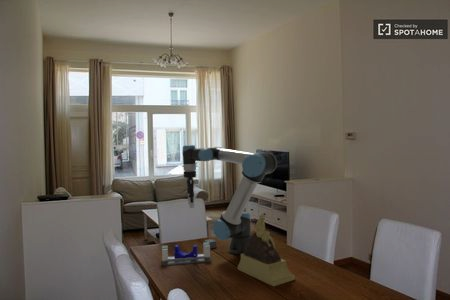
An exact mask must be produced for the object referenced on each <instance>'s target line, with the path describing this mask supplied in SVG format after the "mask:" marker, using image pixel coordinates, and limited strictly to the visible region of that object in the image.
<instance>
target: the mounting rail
mask: <svg viewBox="0 0 450 300" xmlns="http://www.w3.org/2000/svg"><path fill="white" fill-rule="evenodd" d="M210 262H212V260H211V256H210V257H205V256H204V253H198V256H197V257H186V258H174V256H173V255H172V256H168V260H165V261H162V267H163V266H177V265H178V266H179V265H188V264H199V263H200V264H201V263H210Z"/></svg>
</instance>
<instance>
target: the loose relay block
mask: <svg viewBox="0 0 450 300" xmlns="http://www.w3.org/2000/svg"><path fill="white" fill-rule="evenodd" d="M206 242H209V244H210V250H211V249H215V248H217V240H215V239H213V238H211V239H205V240H204V242H203V243H206Z"/></svg>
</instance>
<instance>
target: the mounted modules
mask: <svg viewBox="0 0 450 300" xmlns="http://www.w3.org/2000/svg"><path fill="white" fill-rule="evenodd" d="M202 246H203V247H202V248H203V250H202V251H203V254H204V256H205V257H210V258H211V249H210V244H209V242H206V243H204V242H202ZM161 253H162V254H161V255H162V256H161V258H162V262H163V261H165V260H168V257H169V249H168V245H162V246H161Z"/></svg>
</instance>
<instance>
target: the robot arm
mask: <svg viewBox="0 0 450 300" xmlns="http://www.w3.org/2000/svg"><path fill="white" fill-rule="evenodd" d="M209 161H221V162H225V163H226V162H227V163H231V164H232V163H233V164H238V165H241V167H242V168H241V175H242V178H241V180H240V181H239V184H238V186H237V188H236V190H235V192H234V194H233V196H232V198H231V200H230V203H229V204H228V206H227V209H226V210H224V211H223V212H222V213H221V214H220V217H219V219H216V220H215V221H213V224H212V232H213V234H214V236H215V237H216V238H217V239H218V240H220V241H227V240H229V239H230V241H229V245H228V252H229V253H230V254H234V255H241V254H243V253H244V251H245V246H246V244H247V242H248V241H249V239H250V237H251V236H252V234H251V233H252V229H251V228H252V227H251V226H252V225H251V214H250V213H249V212H247V211H245V209H246V207H247V205H248V203H249V201H250V199H251V198H252V195H253V193H254V191H255V189H256V188H257V185H258V184H260V183H262V182H263V179H265V176H266V175H268V174H272V173H273V172H274V171H275V170H276V169H277V167H278V160H277V157H276V156H275V155H274V154H273V153H271V152H262V151H261V152H250V151H249V152H248V151H243V150H235V149H230V148H229V149H228V148H223V147H220V146H215V147H204V148H202V147H200V148H197V147H196V146H195V145H194V144H189V145H187V144H186V145H183V146H182V162H183V163H182V164H183V165H182V169H183V178H185V179H186V186H187V203H188V205H189V206H188V207H189V209H195V192H194V186H195V185H194V180H193V178H196V177H197V171H196V170H197V162H209Z"/></svg>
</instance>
